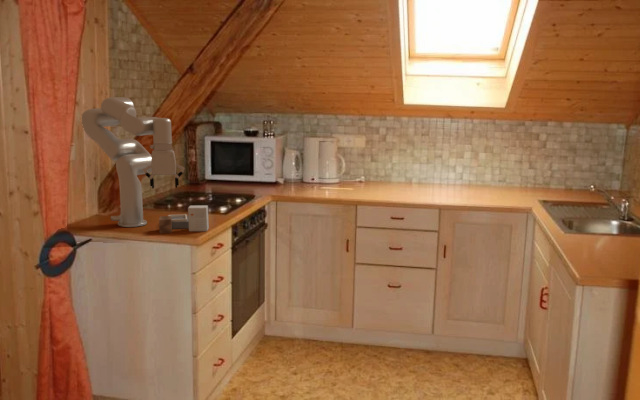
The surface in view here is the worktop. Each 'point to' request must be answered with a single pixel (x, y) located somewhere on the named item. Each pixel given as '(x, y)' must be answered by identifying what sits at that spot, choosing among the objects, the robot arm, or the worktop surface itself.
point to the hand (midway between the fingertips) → (164, 187)
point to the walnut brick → (165, 224)
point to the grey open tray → (179, 221)
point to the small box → (198, 218)
